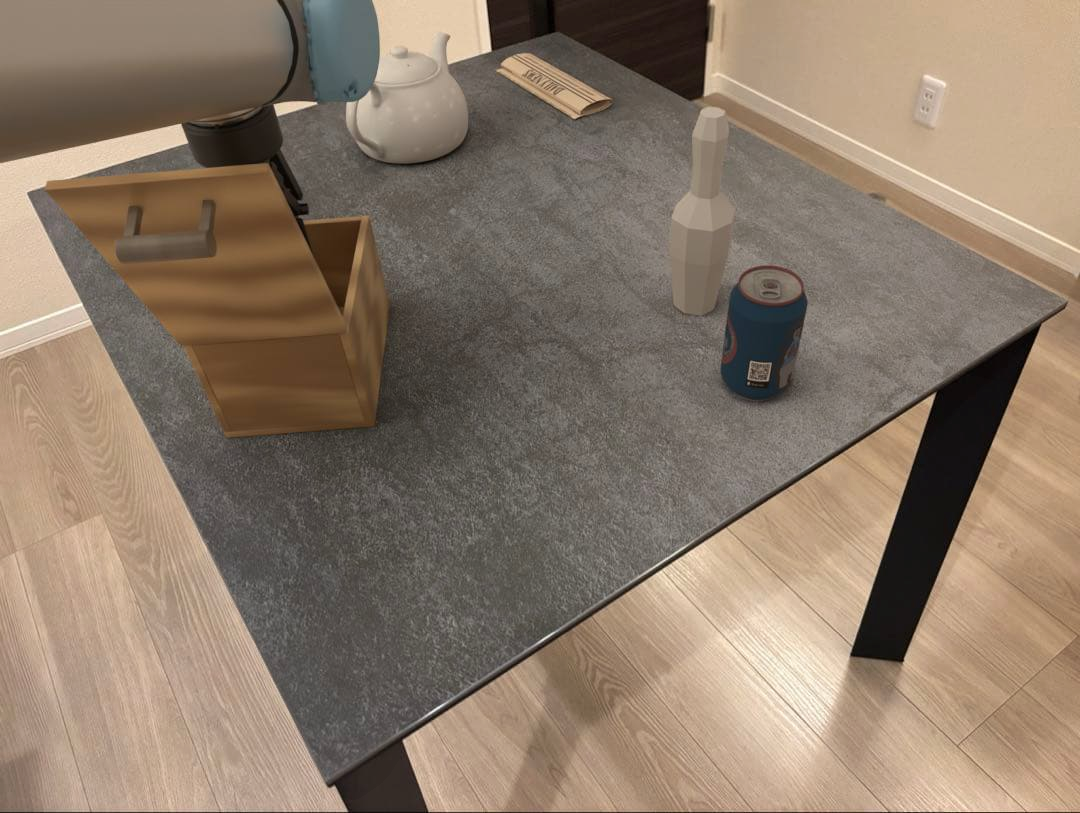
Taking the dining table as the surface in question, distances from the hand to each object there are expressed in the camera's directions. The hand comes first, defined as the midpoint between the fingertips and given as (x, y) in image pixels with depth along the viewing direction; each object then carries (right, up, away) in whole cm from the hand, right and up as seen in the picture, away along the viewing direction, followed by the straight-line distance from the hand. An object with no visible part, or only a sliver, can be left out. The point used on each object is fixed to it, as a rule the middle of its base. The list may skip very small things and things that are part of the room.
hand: (294, 313), depth 82 cm
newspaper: (+26, +42, +52) cm, 72 cm away
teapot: (+5, +30, +41) cm, 51 cm away
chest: (+1, -5, +6) cm, 7 cm away
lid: (0, +2, -19) cm, 19 cm away
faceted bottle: (+42, +2, +10) cm, 43 cm away
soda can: (+46, -7, 0) cm, 46 cm away
